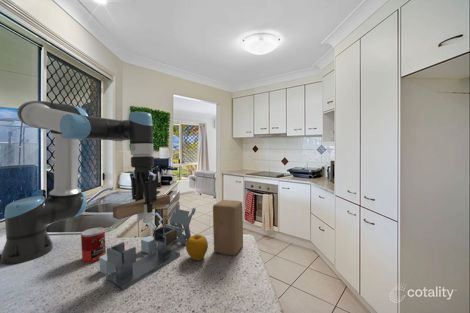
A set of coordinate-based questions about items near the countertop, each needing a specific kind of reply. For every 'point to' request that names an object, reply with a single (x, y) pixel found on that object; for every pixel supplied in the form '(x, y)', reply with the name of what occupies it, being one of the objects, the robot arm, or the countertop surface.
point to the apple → (197, 247)
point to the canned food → (93, 244)
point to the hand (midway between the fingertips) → (145, 220)
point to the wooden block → (228, 227)
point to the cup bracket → (137, 270)
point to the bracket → (180, 220)
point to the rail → (138, 207)
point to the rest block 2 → (148, 244)
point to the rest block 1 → (106, 265)
